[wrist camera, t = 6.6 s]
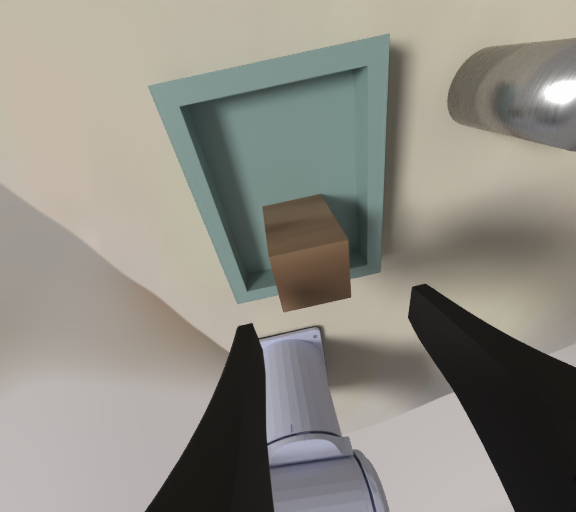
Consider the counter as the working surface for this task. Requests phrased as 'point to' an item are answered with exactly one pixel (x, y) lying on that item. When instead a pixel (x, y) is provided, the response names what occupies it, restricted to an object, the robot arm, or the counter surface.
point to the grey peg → (520, 92)
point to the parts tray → (283, 150)
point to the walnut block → (307, 253)
